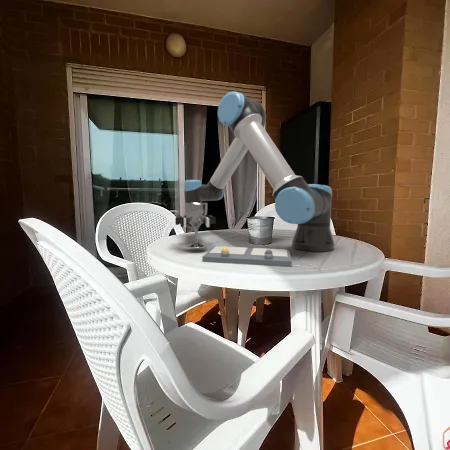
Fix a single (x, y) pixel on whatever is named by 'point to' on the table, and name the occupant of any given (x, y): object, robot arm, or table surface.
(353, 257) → the table surface
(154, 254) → the table surface
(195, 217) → the wine glass
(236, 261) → the indicator board
